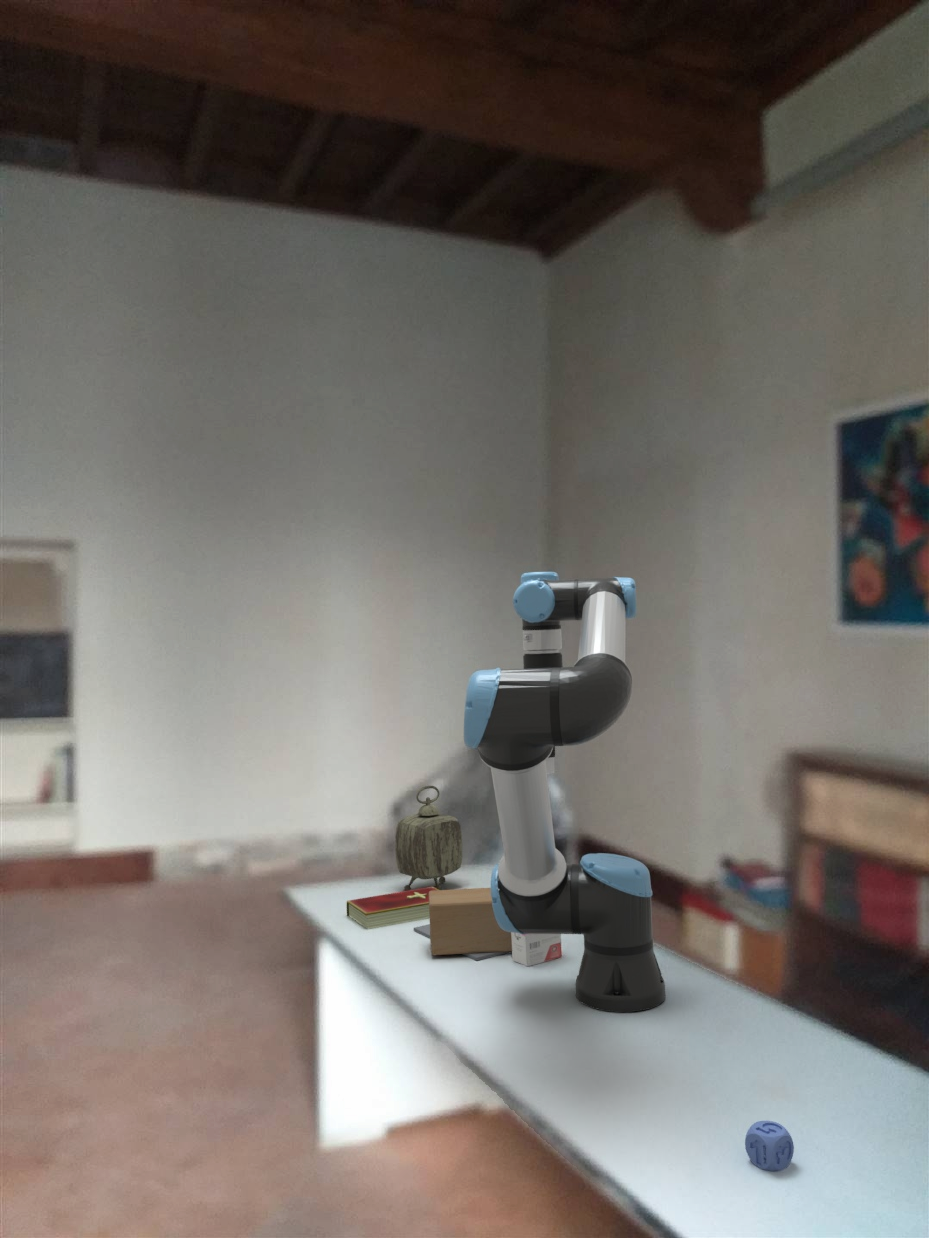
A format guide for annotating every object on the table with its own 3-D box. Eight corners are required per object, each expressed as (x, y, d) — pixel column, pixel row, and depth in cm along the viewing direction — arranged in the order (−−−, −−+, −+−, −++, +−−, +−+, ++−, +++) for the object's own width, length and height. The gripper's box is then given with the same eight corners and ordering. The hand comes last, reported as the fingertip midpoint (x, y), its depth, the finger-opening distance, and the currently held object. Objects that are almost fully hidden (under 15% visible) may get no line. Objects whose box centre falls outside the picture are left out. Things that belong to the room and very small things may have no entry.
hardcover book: (346, 917, 225) (346, 898, 225) (432, 902, 235) (432, 884, 235) (366, 932, 215) (365, 912, 215) (455, 915, 224) (455, 896, 224)
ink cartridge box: (546, 950, 197) (543, 874, 197) (562, 957, 193) (559, 879, 193) (510, 960, 192) (507, 882, 192) (526, 967, 188) (523, 888, 188)
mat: (555, 940, 203) (555, 937, 203) (476, 960, 193) (476, 957, 193) (488, 913, 223) (488, 910, 223) (413, 930, 213) (413, 927, 213)
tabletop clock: (443, 880, 253) (440, 780, 253) (467, 887, 246) (463, 783, 246) (396, 892, 243) (393, 788, 243) (419, 899, 236) (416, 792, 236)
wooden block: (430, 939, 205) (529, 934, 206) (431, 955, 195) (535, 950, 196) (428, 889, 205) (527, 885, 206) (429, 903, 195) (533, 898, 196)
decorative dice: (745, 1160, 120) (743, 1126, 120) (767, 1149, 122) (766, 1116, 122) (772, 1175, 117) (770, 1140, 117) (795, 1164, 119) (793, 1129, 119)
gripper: (507, 652, 200) (511, 772, 200) (547, 653, 189) (552, 780, 189) (537, 650, 204) (542, 768, 204) (579, 651, 193) (583, 775, 193)
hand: (546, 773), depth 196 cm, fingers closed
